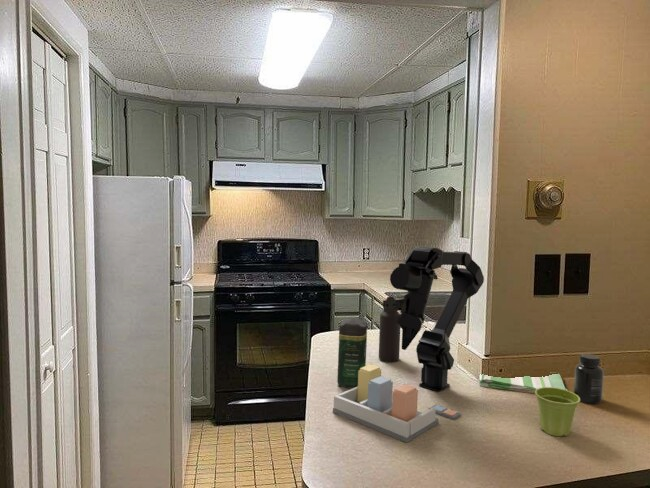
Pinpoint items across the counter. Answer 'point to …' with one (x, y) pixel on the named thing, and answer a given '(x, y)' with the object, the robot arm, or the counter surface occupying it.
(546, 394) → the plant pot
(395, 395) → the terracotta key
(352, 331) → the coffee jar
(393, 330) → the vinegar
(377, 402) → the pale blue block
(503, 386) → the dish towel
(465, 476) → the counter surface
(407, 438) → the grey divided tray
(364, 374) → the yellow block
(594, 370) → the supplement bottle
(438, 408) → the tile
